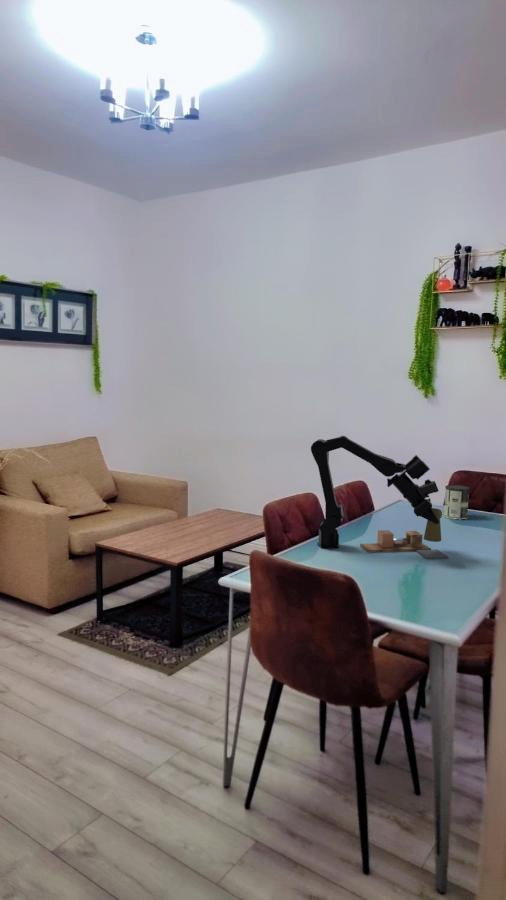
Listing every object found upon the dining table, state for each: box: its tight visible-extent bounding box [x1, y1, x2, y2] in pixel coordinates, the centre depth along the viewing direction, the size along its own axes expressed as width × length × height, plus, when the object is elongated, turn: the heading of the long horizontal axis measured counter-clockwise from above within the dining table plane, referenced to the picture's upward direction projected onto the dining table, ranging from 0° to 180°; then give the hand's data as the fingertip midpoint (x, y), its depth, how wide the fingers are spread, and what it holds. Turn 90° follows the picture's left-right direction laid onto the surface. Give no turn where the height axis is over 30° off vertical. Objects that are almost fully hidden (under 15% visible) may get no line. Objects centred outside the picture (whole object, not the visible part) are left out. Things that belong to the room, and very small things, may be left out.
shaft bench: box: [359, 530, 432, 554], centre depth 215 cm, size 24×8×6 cm, turn 99°
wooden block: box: [376, 529, 407, 548], centre depth 215 cm, size 10×5×5 cm, turn 99°
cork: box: [423, 507, 443, 543], centre depth 207 cm, size 6×6×11 cm
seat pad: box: [416, 549, 449, 560], centre depth 208 cm, size 8×8×1 cm
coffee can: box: [443, 484, 470, 521], centre depth 267 cm, size 10×10×14 cm
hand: (437, 521), depth 207 cm, fingers closed on cork, 5 cm apart
